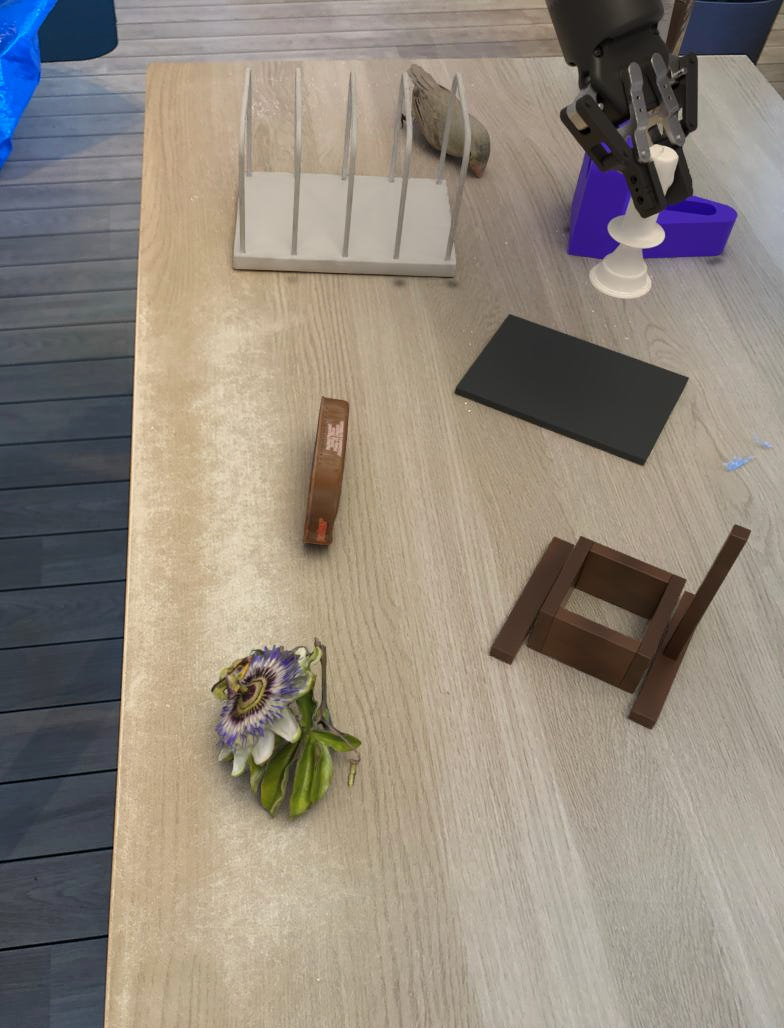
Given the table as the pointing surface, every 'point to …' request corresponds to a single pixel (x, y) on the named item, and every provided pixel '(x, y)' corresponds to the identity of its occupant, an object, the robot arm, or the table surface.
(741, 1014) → the table surface
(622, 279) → the candle
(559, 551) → the brown wooden stand
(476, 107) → the table surface
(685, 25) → the coffee box
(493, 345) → the mat
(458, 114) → the decorative bird
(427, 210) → the file sorter
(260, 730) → the passion flower
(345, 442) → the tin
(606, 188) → the bracket
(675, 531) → the table surface
